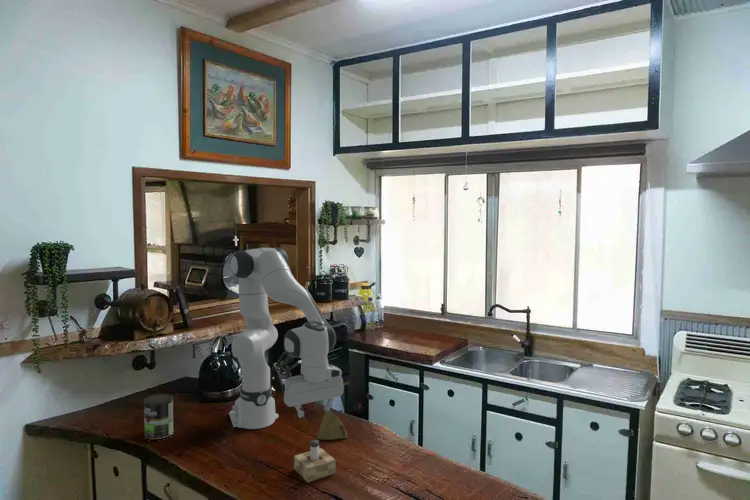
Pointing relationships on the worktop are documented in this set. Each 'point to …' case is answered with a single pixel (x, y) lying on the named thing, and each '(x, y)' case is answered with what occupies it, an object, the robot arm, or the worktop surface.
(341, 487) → the worktop surface
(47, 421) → the worktop surface
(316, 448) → the long grey cylinder
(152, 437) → the coffee can
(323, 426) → the rock
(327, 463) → the wooden block with hole
